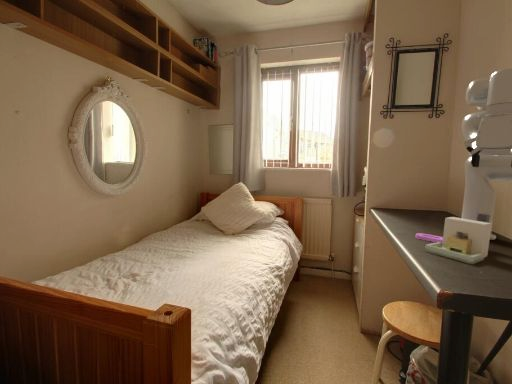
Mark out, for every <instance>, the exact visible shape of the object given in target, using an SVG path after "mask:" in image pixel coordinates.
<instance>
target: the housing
mask: <svg viewBox="0 0 512 384" xmlns="http://www.w3.org/2000/svg"><path fill="white" fill-rule="evenodd" d="M491 225H492V226H493V223H487V222H481V221H475V220H469V219H463V218H461V217H456V216H449V217H445V219H444V225H443V233H442V234H443V235H442V237H443V242H442V244H441V246H442V247H446V245H447V237H448V236H457V237H461V234H462V232H463V233H467V234H468V239H471V240H472V244H471V251H470V254H473V255H475V254H478V253H481V252H482V253H485V257H484V258H487V257H488V253H489V246H490V232H491V233H492V230H491ZM454 250H458V251H462V250H459V249H454Z"/></svg>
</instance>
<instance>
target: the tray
mask: <svg viewBox="0 0 512 384" xmlns="http://www.w3.org/2000/svg"><path fill="white" fill-rule="evenodd" d="M424 252H426V253H430V254H433V255H437V256H440V257H444V258H448V259H451V260H455V261H459V262H461V263H466V264H468V265H474V264H477V263H480V262H483V261H484V260H485V258H486V257H485V253H482V252H481V253H478V254H475V255H473V254H468V255H465V254H462V251H458V250H452V251H450V250H446V247H442V244H441V242H436V243H435V242H431V243H428V244H425V247H424Z"/></svg>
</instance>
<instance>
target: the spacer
mask: <svg viewBox="0 0 512 384" xmlns="http://www.w3.org/2000/svg"><path fill="white" fill-rule="evenodd" d="M471 244H472V240H471V239H467V238H462V237H457V236H448V237H447V245H446V250H450V251H452V250H454V249H459V250H462V254H465V255H468V254H470V251H471Z"/></svg>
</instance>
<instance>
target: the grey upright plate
mask: <svg viewBox="0 0 512 384" xmlns="http://www.w3.org/2000/svg"><path fill="white" fill-rule="evenodd" d="M489 219H490V215H488V214H478V217H477V221H481V222H487V223H489ZM461 237H462V238H467V239H468V234H467V233H463V232H462V234H461Z"/></svg>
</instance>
